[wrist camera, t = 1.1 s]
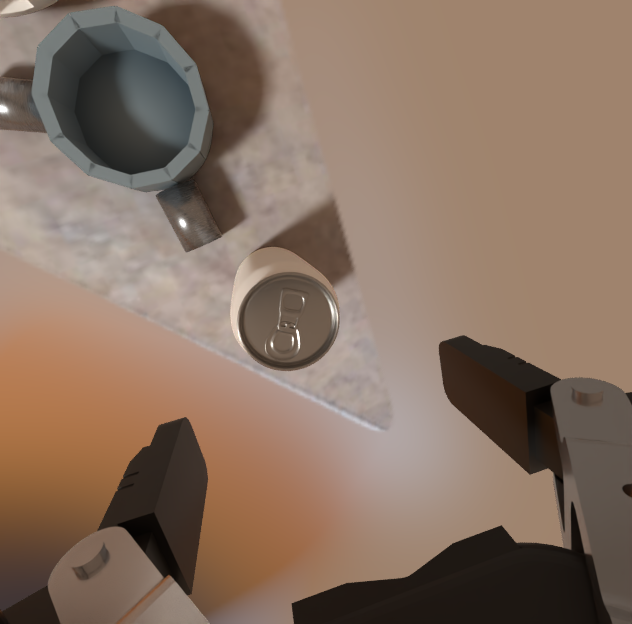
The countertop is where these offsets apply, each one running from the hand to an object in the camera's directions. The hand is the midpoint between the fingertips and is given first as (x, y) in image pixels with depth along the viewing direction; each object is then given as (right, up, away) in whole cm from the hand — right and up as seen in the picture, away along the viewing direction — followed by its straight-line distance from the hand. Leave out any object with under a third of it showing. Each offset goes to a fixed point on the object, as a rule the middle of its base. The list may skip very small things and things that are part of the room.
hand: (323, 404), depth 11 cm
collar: (-13, +17, +15) cm, 26 cm away
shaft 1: (-20, +17, +13) cm, 29 cm away
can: (-4, +5, +20) cm, 21 cm away
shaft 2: (-10, +10, +17) cm, 22 cm away
